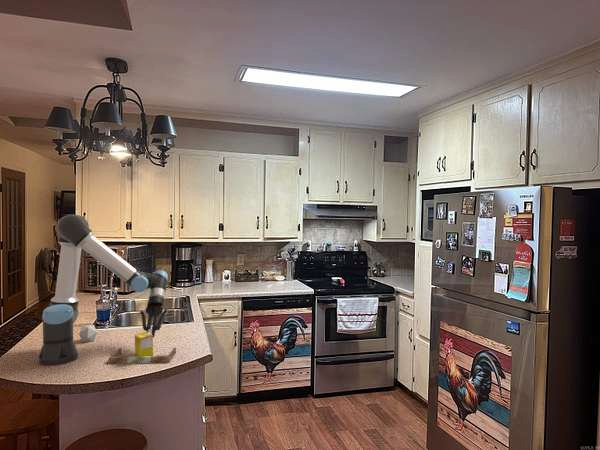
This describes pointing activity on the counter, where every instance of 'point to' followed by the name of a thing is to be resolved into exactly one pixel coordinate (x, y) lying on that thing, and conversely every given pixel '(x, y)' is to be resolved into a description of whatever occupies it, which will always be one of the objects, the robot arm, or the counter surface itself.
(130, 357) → the frame
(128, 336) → the counter surface
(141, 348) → the supplement box
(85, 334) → the die
